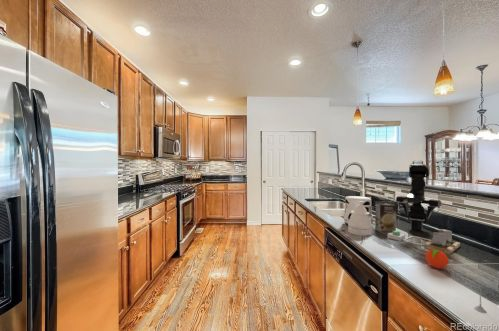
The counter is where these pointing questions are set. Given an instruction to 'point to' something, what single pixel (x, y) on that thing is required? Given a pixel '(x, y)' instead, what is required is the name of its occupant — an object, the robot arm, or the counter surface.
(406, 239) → the grey flat rimmed tray
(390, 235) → the white square frame
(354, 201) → the milk container
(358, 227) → the honey pot
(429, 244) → the shallow beige tray
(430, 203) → the robot arm
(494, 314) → the counter surface
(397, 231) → the button
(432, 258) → the tomato
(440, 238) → the cylinder
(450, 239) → the billet
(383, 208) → the coffee box
